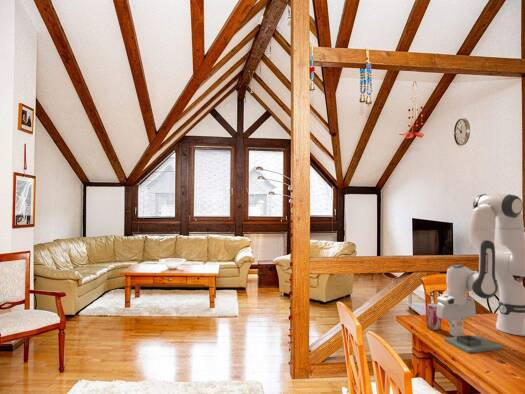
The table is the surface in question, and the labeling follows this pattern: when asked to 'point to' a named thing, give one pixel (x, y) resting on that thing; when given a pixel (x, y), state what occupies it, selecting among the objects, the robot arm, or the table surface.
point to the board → (472, 343)
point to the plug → (457, 327)
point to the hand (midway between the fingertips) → (456, 326)
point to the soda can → (432, 317)
